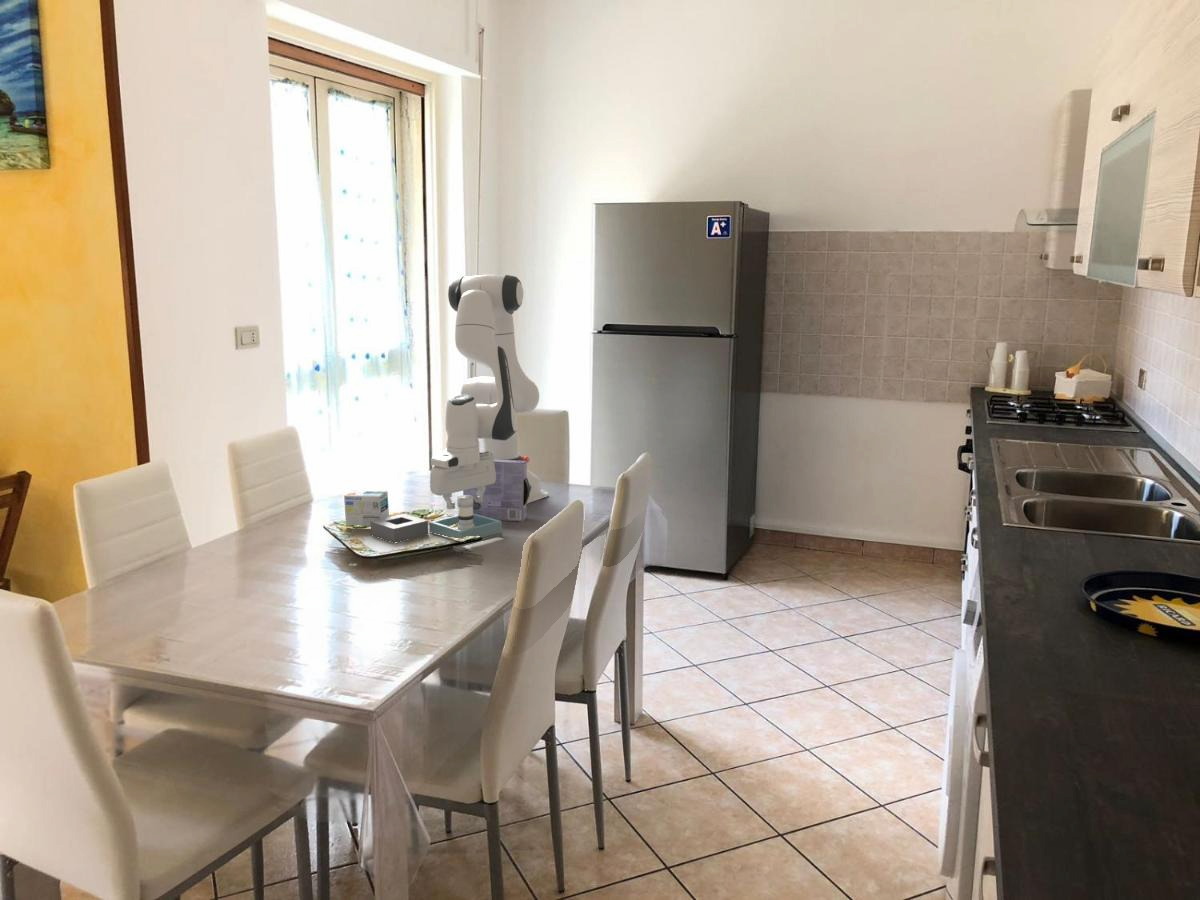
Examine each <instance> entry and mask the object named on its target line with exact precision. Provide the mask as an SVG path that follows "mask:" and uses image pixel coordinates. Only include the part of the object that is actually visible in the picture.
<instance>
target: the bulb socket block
mask: <svg viewBox="0 0 1200 900" xmlns="http://www.w3.org/2000/svg"><path fill="white" fill-rule="evenodd" d="M370 525H371V530H370V536H371V535H373V536H372V537H374V536H375V538H377V537H379V538H382V539H384V540H383V541H385V540H387V541H386V542H388V541H391V542H393V543H392V544H394V543H395V542H399V543H401V542H400V541H403V542H405V541H404V540H407V539H411V540H413V539H412V538H415V539H418V538H417V537H419V538H422V537H426V536H428V535H429V521H428V520H427V519H425V518H421V517H418V516H414V515H411V514H408V513H400V514H396V515H391V516H389V517H386V518H382V519H378V520H373V521H370ZM427 534H428V535H427ZM425 535H426V536H425ZM421 536H422V537H421ZM379 538H378V539H379ZM382 539H381V540H382ZM407 541H408V540H407ZM391 542H390V543H391ZM395 544H396V543H395Z"/></svg>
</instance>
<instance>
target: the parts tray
mask: <svg viewBox="0 0 1200 900" xmlns="http://www.w3.org/2000/svg"><path fill="white" fill-rule="evenodd" d="M458 522H459V519H458V514H456V515H452V516H448V517H444V518H441V519H437V520H433V521H428V530H429V533H430V532H432V533H436V534H440V535H444V536H448V537H454V538H463V537H466V536H477V535H478V536H480V537H481V538H484V537H488V536H492V535H495V536H492V537H488V538H485V539H482V540H481V538H480V540H478V541H473V542H471V543H470V542H469V543H467V544H463V545H461V547H465V546H469V545H471V544H475V543H479V542H482V541H486V540H490V539H493V538H498V537H500V536H502V534H503V524H502V522H503V521H499V520H495V519H492V518H488V517H485V516H481V515H478V514H474V513H473V523H474V527H473V528H469V529H465V530H459V529H456V528H453V527H449V525H453V524H456V523H458ZM432 533H431V534H432ZM496 534H500V535H496Z"/></svg>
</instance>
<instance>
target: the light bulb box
mask: <svg viewBox="0 0 1200 900" xmlns="http://www.w3.org/2000/svg"><path fill="white" fill-rule="evenodd" d="M343 499H344V501H343V502H344V514H345V515H344V516H345V526H346V525H361V526H367V527H371V525H370V521H373V520H378V519H382V518H386V517H390V511H389V510H390V509H389V496H388V490H351V491H349V492H348V493H346V494H345V495H344V497H343Z"/></svg>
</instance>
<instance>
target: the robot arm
mask: <svg viewBox="0 0 1200 900" xmlns="http://www.w3.org/2000/svg"><path fill="white" fill-rule="evenodd" d="M447 291H448V292H447V299H448V302H449V306H450V307H451V308H452V309H453V311H455V312H456V319H455V330H454V331H455V332H454V341H455V342H454V343H455V347H456V349H457V351H458V352H459V353H460V355H462V356H463V357H464V358H466V359H468V360H470V361H472V362H474V363H476V364H479V365H481V366H483V367H486V368H488V369H489V370H491V372H492V373H493V376H477V377H472V378H468V379H466V380H465V382H464V383H463V384H462V386H461V390H460V394H457V395H452V396H451V397H449V398H448V400H446V401H447V402H446V408H445V409H446V410H445V431H446V437H447V440H446V446H445V447H446V448H445V449H444V450H442V451H441V452H439V453H438V454H436V455H434V456H432V457H431V458H430V464H431V465H432V466H433V467H432V468H431V470H430V473H429V474H430V475H429V476H430V477H429V485H430V487H429V488H430V491H431V493H432V494H433V495H435V496H439V497H440V496H442V498H443V499H444V501H445V502H446V508H447V510H454V509H455V508H456V502H455V501H453V500H452V499H451V498H452V494H454V493H459V492H463V491H464V490H468V489H473V488H477V489H478V492H477V495H476V496H474V498H475V499H474V501H475V502H477V503H479V502H482V496H483V494H484V492H485V490H486V487H485V486H486V485H491V484H494V483H495V481H496V472H495V466H494V460H514V461H527V464H528V463H529V462H530V459H531V458H530V457H529V456H525V455H522V456H521V455H520V451H519V450H520V439H519V436H520V435H519V432H518V429H517V428H518V418H517V415H520V414H527V413H531V412H533V411H534V410H535V409H536V408H537V406H538V404H539V402H540V391H539V388H538V386H537V385H536V384H535V382H534V381H532V380H531V379H530V378H529V377H528V376H527V375H526V373H525V372H524V371H523V369H522V366H521V365H520V362H519V360H518V355H517V348H516V337H515V324H514V318H513V314H514V312H516V311H518V310H519V309H520V307H521V306H522V303H523V299H524V288H523V284H522V282H521V280H520V279H519V278H518V277H517V276H513V275H509V274H506V275H500V274H483V275H472V276H470V275H469V276H465V275H464V276H460V277H456V278H453V279H452V280H451V282H449V285H448V290H447ZM481 439H482V446H483V447H482V448H483V449H482V452H480V441H479V440H481ZM527 479H528V482H529V486H530V494H529V498H528V501H527V503H526V505H528V504H530V503H533V502H536V501H538V500H541V499H543V498H544V499H545V498H548V497H549V493H548V492H547V491H546V490H543V489H541V481H540V478H539V477H538V476H537V475H536V474H534V473H533V472H532V471H530V470H529V469H527Z"/></svg>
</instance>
